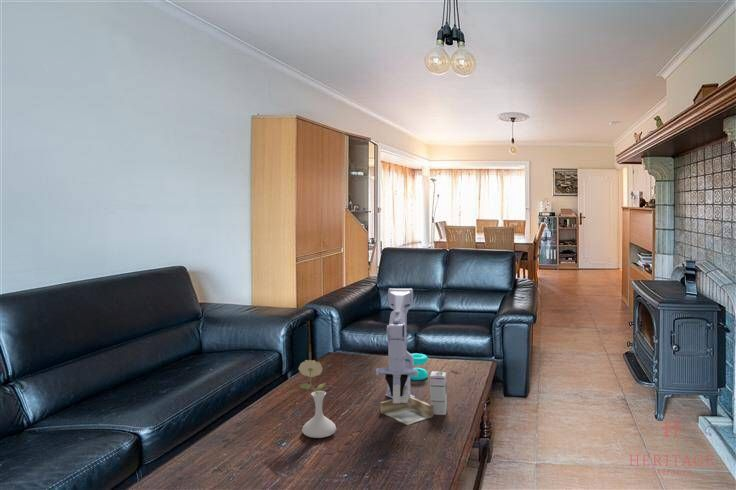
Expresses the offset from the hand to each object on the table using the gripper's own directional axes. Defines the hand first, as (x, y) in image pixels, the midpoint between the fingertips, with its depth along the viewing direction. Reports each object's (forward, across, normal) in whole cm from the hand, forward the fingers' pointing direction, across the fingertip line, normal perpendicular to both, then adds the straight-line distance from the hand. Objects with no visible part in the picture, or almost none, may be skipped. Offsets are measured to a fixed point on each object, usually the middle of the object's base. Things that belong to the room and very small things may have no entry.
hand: (396, 395), depth 173 cm
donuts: (+10, +5, +49) cm, 50 cm away
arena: (+9, +3, +5) cm, 11 cm away
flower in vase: (+9, -26, -14) cm, 31 cm away
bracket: (+3, +1, +1) cm, 3 cm away
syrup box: (+9, +15, +10) cm, 20 cm away
